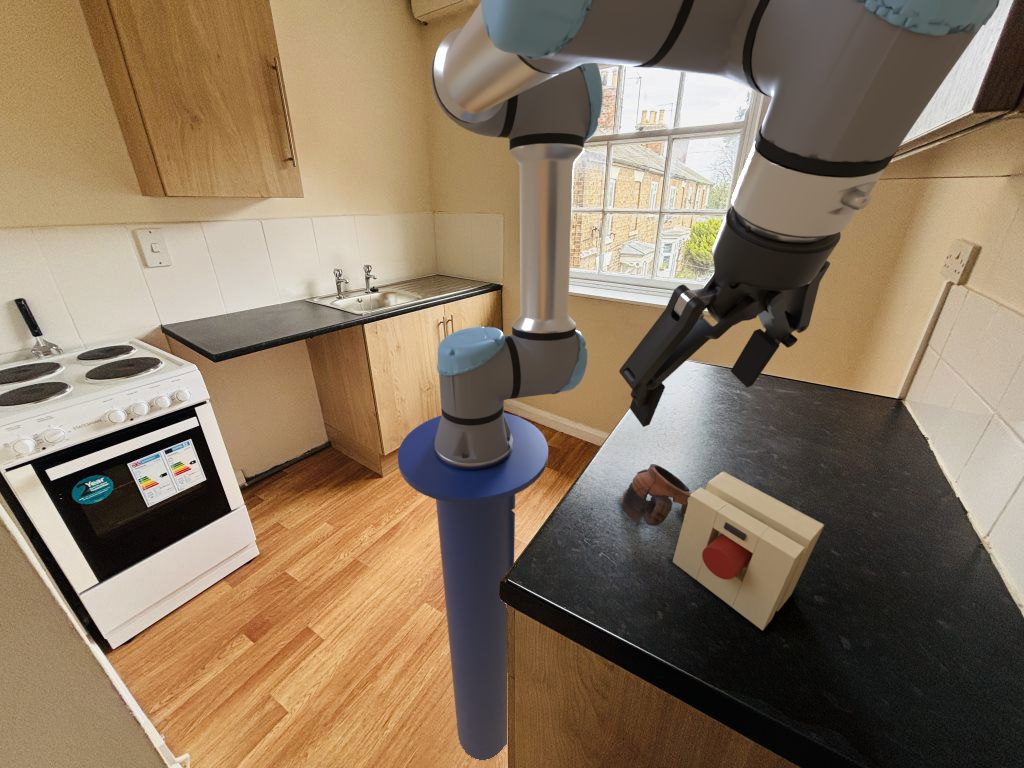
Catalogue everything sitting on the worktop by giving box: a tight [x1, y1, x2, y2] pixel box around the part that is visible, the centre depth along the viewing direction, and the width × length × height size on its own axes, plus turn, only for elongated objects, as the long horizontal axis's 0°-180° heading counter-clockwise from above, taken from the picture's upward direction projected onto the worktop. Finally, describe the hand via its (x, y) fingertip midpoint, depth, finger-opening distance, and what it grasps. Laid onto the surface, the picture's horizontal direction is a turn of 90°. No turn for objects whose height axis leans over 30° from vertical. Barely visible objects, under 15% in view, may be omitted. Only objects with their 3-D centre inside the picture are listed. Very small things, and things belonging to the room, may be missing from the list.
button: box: [702, 534, 752, 580], centre depth 48 cm, size 4×4×4 cm
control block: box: [672, 471, 825, 631], centre depth 51 cm, size 12×8×12 cm
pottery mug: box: [620, 463, 692, 527], centre depth 63 cm, size 12×10×8 cm
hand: (691, 396), depth 45 cm, fingers open, 13 cm apart
